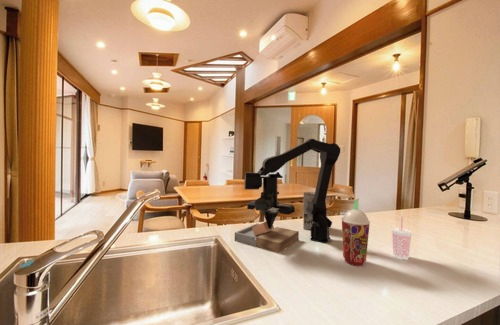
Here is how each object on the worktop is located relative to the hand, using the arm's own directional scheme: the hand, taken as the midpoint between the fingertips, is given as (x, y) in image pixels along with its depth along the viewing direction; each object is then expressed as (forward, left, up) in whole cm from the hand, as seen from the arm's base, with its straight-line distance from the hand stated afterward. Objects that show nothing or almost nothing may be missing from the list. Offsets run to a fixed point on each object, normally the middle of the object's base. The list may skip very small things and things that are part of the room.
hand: (270, 228), depth 96 cm
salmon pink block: (+3, 0, -2) cm, 3 cm away
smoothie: (-32, 0, -5) cm, 32 cm away
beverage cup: (-44, -14, -5) cm, 46 cm away
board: (-4, 0, -5) cm, 6 cm away
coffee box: (-6, -28, -5) cm, 29 cm away
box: (+7, 0, -5) cm, 9 cm away
